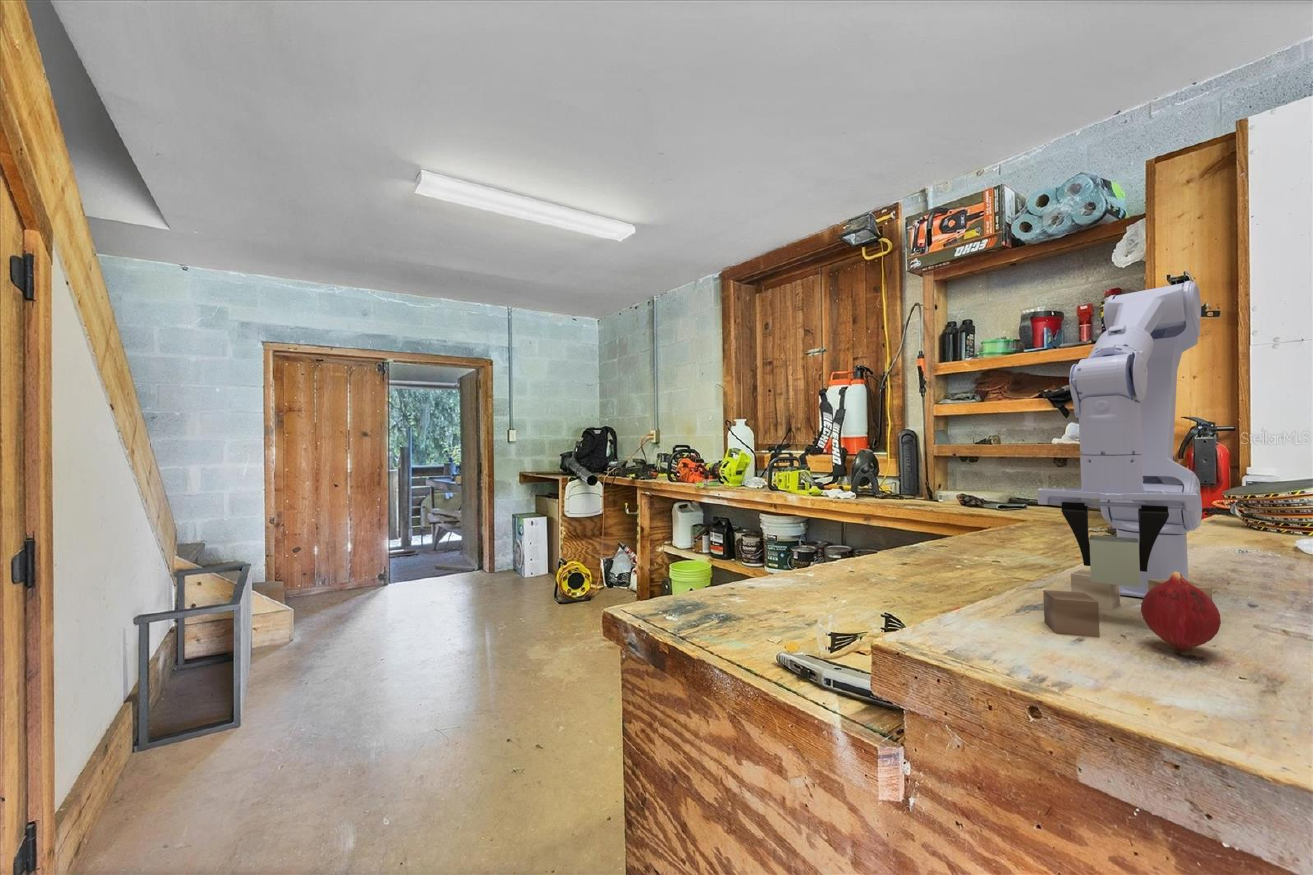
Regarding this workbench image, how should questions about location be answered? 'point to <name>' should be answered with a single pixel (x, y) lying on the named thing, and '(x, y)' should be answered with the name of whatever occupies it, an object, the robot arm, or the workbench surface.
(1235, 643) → the workbench surface
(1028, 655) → the workbench surface
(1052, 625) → the walnut block
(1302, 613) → the workbench surface
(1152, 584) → the oak block
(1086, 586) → the maple block
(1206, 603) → the onion
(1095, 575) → the sage block
